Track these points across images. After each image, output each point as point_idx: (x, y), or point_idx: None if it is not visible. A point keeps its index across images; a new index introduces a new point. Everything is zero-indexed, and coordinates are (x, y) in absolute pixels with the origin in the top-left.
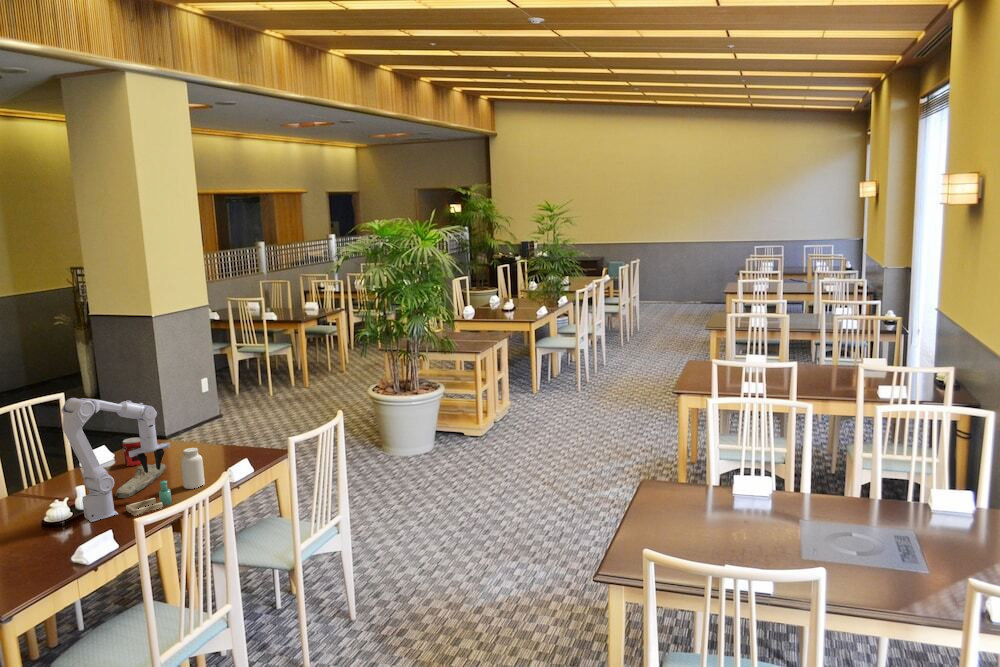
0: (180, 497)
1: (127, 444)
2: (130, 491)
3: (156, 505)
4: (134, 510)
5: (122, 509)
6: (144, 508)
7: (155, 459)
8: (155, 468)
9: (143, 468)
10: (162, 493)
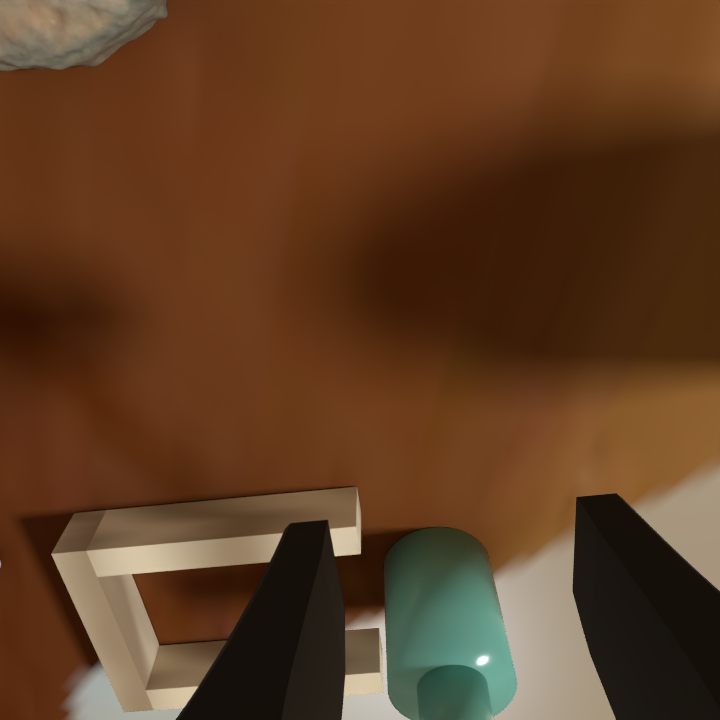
0: None
1: None
2: (98, 29)
3: None
4: (131, 704)
5: (32, 451)
6: None
7: (696, 683)
8: None
9: (262, 585)
10: (412, 712)
